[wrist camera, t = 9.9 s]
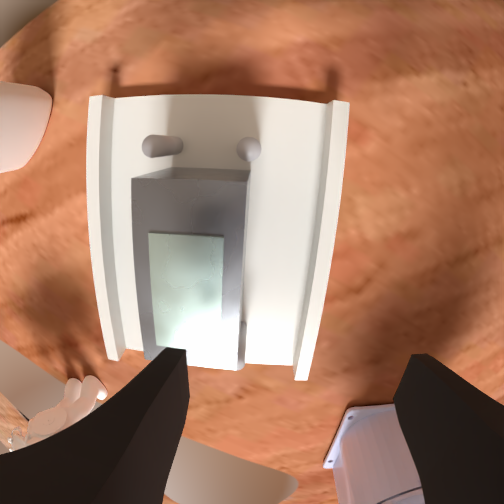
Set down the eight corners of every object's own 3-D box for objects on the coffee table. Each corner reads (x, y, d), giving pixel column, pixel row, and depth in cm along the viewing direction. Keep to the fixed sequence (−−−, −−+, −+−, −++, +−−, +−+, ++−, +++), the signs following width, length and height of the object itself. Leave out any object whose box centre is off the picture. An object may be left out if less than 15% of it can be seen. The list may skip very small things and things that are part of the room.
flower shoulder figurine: (113, 364, 21) (48, 487, 10) (137, 399, 22) (90, 519, 11) (43, 371, 22) (-21, 461, 11) (65, 402, 23) (13, 492, 12)
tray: (303, 358, 20) (311, 402, 16) (120, 340, 20) (96, 377, 16) (337, 108, 15) (362, 96, 11) (108, 101, 15) (69, 92, 11)
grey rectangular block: (242, 309, 18) (236, 371, 13) (172, 303, 18) (144, 360, 13) (251, 170, 16) (247, 182, 10) (171, 167, 16) (130, 178, 10)
